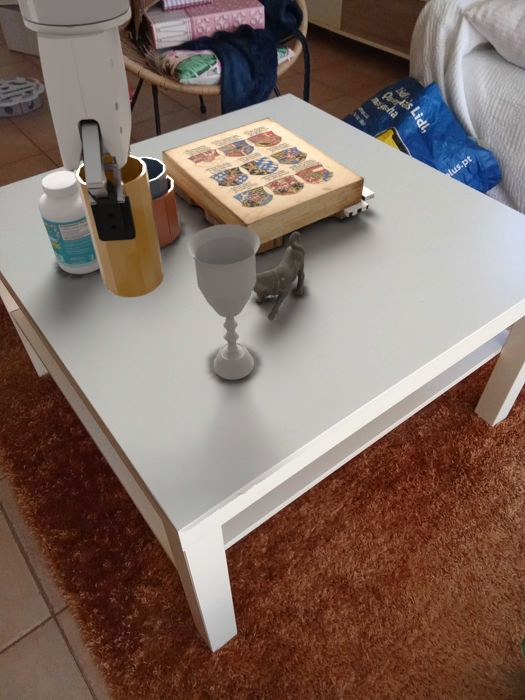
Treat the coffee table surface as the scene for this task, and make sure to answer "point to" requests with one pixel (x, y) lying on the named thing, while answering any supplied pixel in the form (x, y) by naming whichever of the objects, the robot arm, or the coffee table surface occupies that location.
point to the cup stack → (163, 201)
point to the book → (264, 181)
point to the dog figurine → (282, 276)
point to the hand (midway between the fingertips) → (120, 215)
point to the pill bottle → (67, 223)
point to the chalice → (227, 286)
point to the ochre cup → (128, 255)
